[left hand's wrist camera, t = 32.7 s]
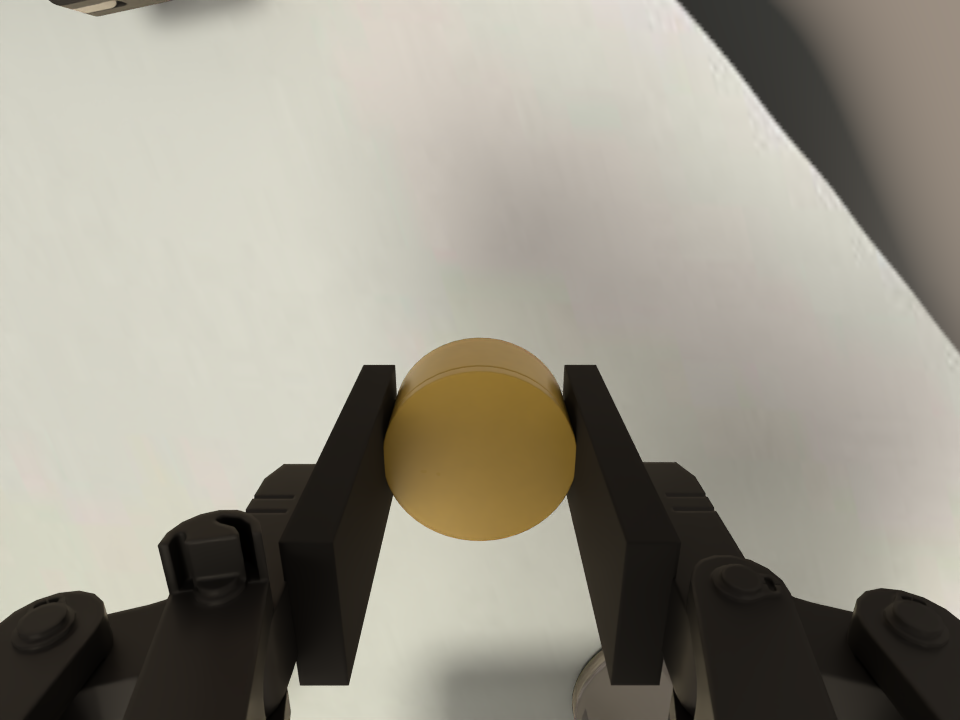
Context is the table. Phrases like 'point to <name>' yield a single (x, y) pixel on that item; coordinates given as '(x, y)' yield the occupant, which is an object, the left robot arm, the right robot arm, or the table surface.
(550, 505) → the cap
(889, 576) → the table surface
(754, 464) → the table surface
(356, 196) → the table surface
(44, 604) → the left robot arm
